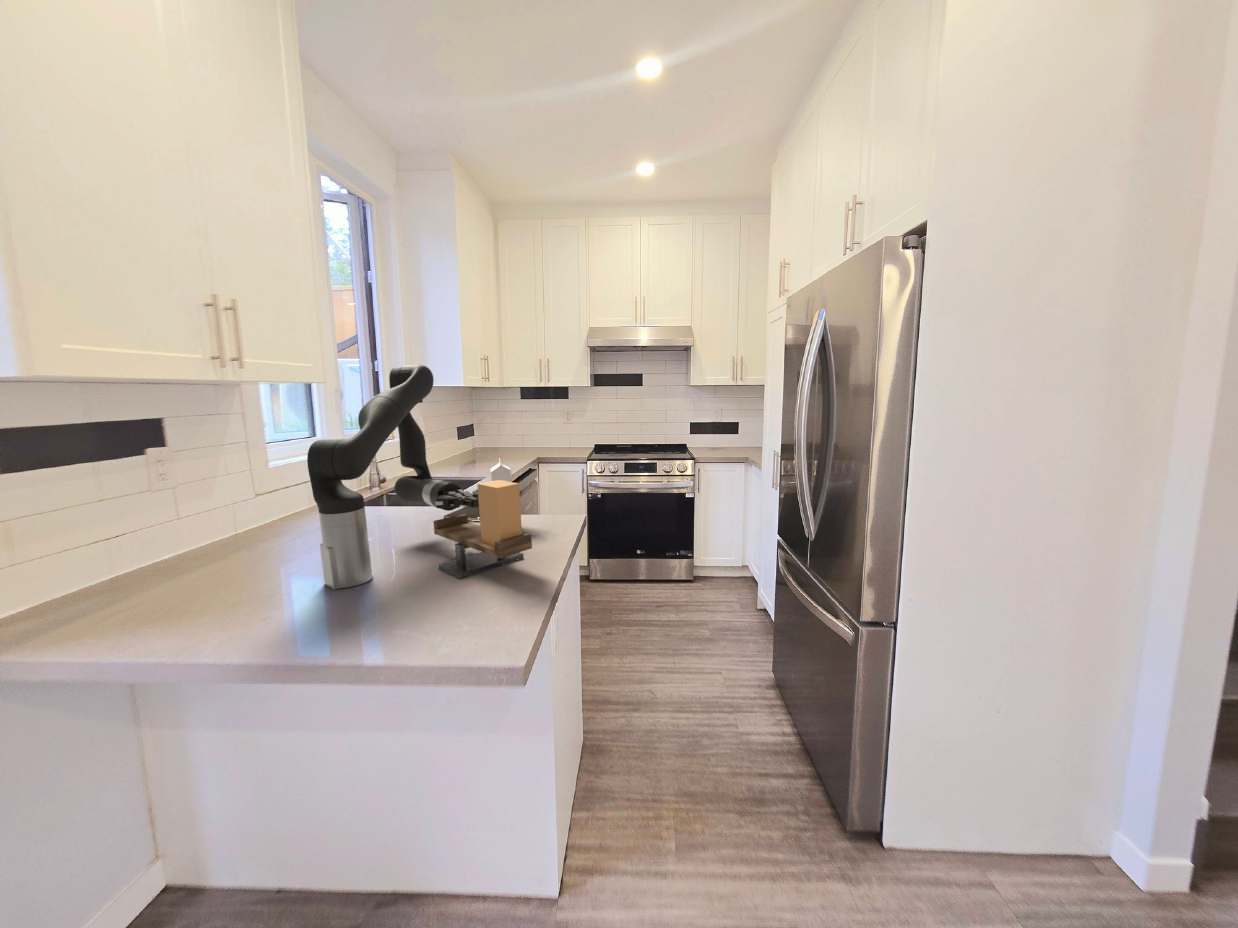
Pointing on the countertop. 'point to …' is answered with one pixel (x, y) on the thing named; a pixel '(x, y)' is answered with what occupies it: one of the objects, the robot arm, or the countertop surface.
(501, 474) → the milk
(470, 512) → the hardcover book
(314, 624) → the countertop surface
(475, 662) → the countertop surface
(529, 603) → the countertop surface
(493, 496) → the block
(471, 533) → the beam
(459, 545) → the pivot stand
